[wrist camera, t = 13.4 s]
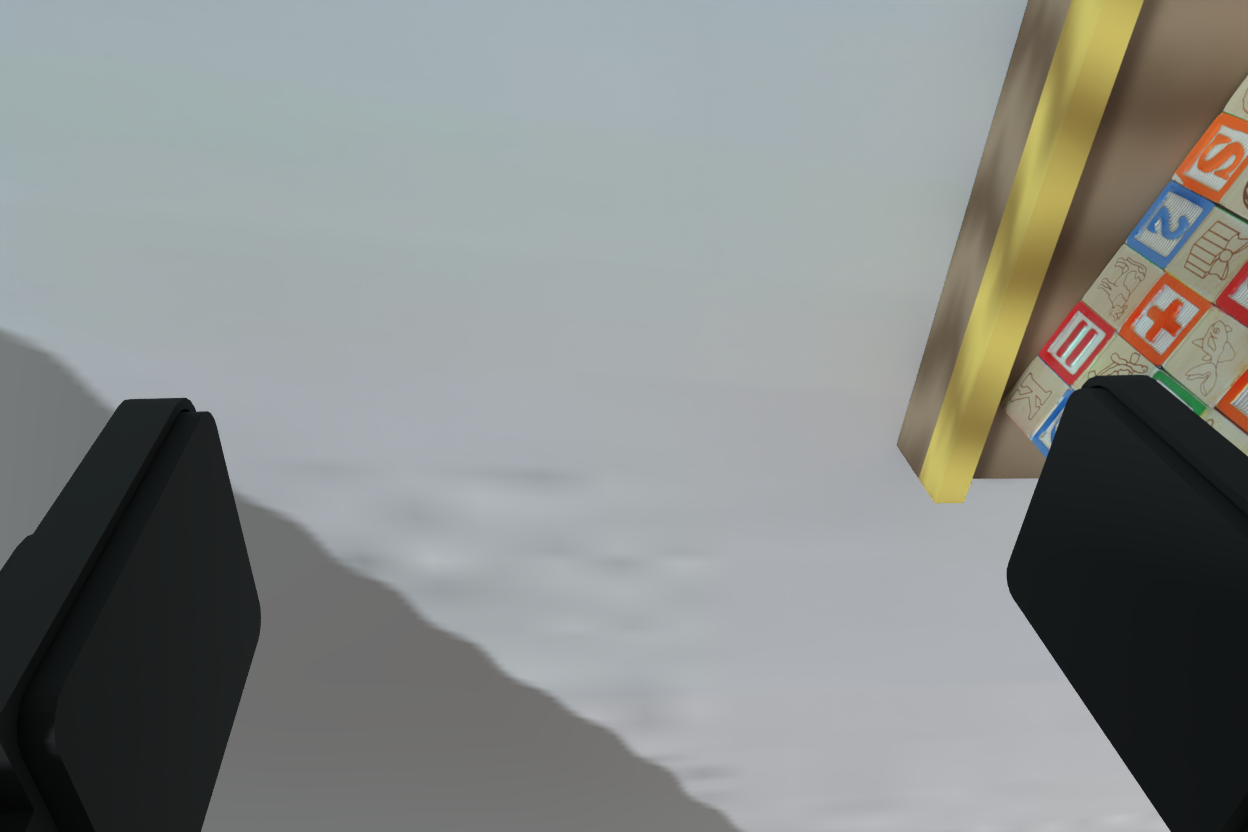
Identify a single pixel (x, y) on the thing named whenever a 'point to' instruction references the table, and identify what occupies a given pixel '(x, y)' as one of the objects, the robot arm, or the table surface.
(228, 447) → the table surface
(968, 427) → the dock
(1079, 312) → the stack of blocks
